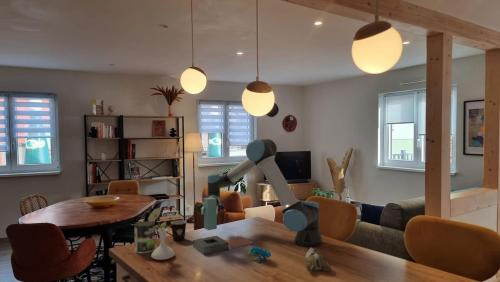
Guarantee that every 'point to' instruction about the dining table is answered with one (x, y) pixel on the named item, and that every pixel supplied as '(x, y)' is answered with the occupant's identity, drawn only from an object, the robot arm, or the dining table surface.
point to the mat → (238, 242)
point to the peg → (210, 213)
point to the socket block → (210, 245)
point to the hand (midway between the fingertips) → (209, 211)
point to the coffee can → (144, 237)
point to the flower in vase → (163, 249)
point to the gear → (259, 253)
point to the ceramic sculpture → (315, 261)
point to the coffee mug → (178, 230)
